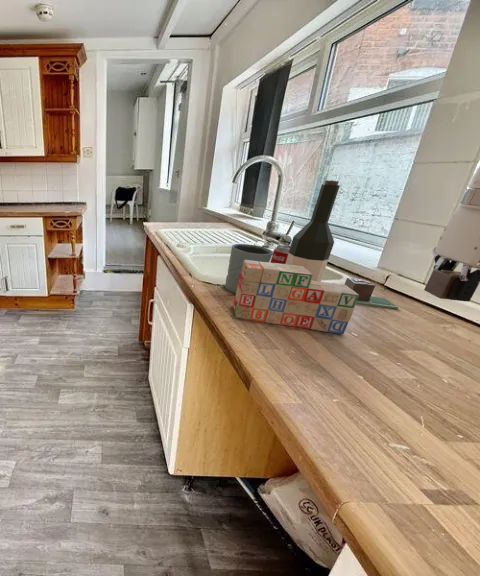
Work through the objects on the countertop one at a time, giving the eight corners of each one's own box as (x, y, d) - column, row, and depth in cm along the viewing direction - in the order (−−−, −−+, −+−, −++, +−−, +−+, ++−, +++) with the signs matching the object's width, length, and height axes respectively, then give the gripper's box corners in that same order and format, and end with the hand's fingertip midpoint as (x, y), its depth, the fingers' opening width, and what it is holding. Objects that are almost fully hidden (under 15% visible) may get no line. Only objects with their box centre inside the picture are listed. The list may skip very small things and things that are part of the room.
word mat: (382, 298, 85) (383, 296, 85) (398, 309, 79) (399, 307, 79) (337, 292, 88) (338, 291, 88) (349, 302, 82) (349, 300, 81)
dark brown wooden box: (450, 292, 63) (462, 270, 61) (469, 301, 58) (482, 278, 57) (423, 290, 64) (433, 268, 62) (440, 298, 59) (451, 275, 58)
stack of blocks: (332, 322, 70) (351, 271, 65) (343, 335, 64) (366, 281, 60) (232, 306, 75) (243, 258, 71) (234, 317, 70) (247, 266, 65)
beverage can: (269, 282, 93) (279, 244, 89) (289, 288, 89) (302, 248, 85) (260, 286, 90) (271, 246, 85) (281, 292, 86) (293, 251, 81)
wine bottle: (311, 300, 81) (352, 181, 70) (312, 311, 75) (358, 182, 63) (276, 293, 85) (309, 179, 74) (274, 302, 79) (310, 179, 67)
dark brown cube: (360, 295, 85) (366, 279, 84) (368, 301, 81) (375, 284, 79) (341, 292, 86) (347, 276, 85) (348, 298, 82) (355, 282, 81)
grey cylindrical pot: (229, 280, 93) (238, 242, 88) (265, 289, 87) (276, 249, 83) (217, 289, 86) (226, 247, 81) (256, 300, 80) (268, 255, 75)
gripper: (576, 207, 46) (510, 316, 52) (478, 197, 61) (437, 282, 68) (512, 204, 47) (456, 309, 54) (432, 195, 63) (397, 278, 69)
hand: (446, 293), depth 61 cm, fingers closed on dark brown wooden box, 4 cm apart
